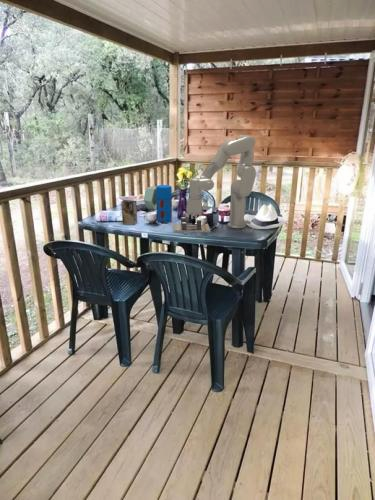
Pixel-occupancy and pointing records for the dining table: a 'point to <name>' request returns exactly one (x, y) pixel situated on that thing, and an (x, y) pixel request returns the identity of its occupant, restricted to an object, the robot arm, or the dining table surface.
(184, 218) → the breaker
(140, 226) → the dining table surface
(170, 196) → the blue tall box
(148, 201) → the planter
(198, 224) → the breaker mid
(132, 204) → the coffee box
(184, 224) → the breaker
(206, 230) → the panel
